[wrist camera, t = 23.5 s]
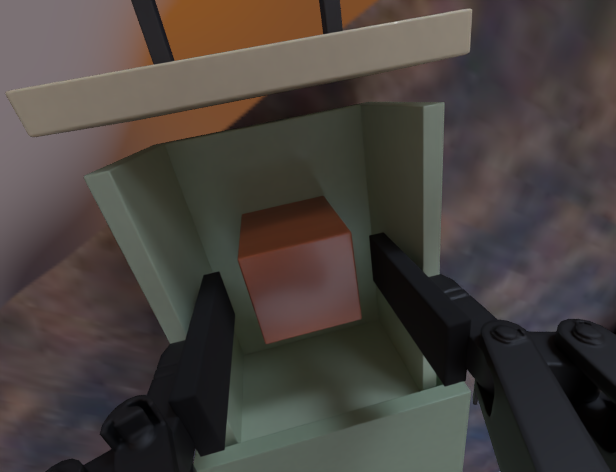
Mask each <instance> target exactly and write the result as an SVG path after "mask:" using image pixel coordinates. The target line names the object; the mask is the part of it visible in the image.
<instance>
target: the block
mask: <svg viewBox="0 0 616 472" xmlns="http://www.w3.org/2000/svg"><path fill="white" fill-rule="evenodd" d="M237 260H238V263H239V266H240V269H241V272H242V275H243V278H244V281H245V284H246V287H247V290H248V293H249V297H250V300H251V303H252V306H253V309H254V312H255V315H256V318H257V321H258V324H259V327H260V330H261V333H262V336H263V339H264V342H265V344H270V343H274V342H278V341H281V340H285V339H289V338H293V337H296V336H300V335H304V334H308V333H312V332H315V331H319V330H323V329H327V328H330V327H334V326H338V325H342V324H345V323H349V322H353V321H357V320H361V319H362V313H361V305H360V297H359V289H358V281H357V273H356V265H355V257H354V249H353V241H352V233H351V231H350V230H349V229H348V227H347V226H346V225H345V223H344V222H343V221H342V219H341V218H340V217H339V215H338V214H337V213H336V211H335V210H334V209H333V207H332V206H331V205H330V203H329V202H328V201H327V199H326V198H325V197H324V196H319V197H315V198H311V199H306V200H302V201H298V202H293V203H289V204H284V205H280V206H276V207H271V208H267V209H263V210H258V211H254V212H250V213H245V214H242V217H241V227H240V238H239V248H238V259H237Z"/></svg>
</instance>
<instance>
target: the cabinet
mask: <svg viewBox="0 0 616 472" xmlns="http://www.w3.org/2000/svg"><path fill="white" fill-rule="evenodd" d="M470 397H471V391H470V390H469V388H468V387H467V386H466V384H465V383H464V382H460V383H456V384H453V385H449V386H446V387H445V386H444V385H443V383H442V382H441V380H440V379H439V378H438V376H437V375H436V387H433V388H430V389H426V390H423V391H419V392H416V393H412V394H409V395H405V396H402V397H398V398H395V399H391V400H388V401H384V402H381V403H377V404H374V405H370V406H367V407H363V408H360V409H357V410H353V411H350V412H346V413H343V414H339V415H336V416H332V417H329V418H325V419H322V420H318V421H315V422H311V423H308V424H304V425H301V426H297V427H294V428H290V429H287V430H283V431H280V432H276V433H273V434H269V435H266V436H262V437H259V438H255V439H252V440H248V441H245V442H241V443H238V444H234V445H231V446H227V447H225V450H223V451H220V452H216V453H213V454H209V455H206V456H202V457H200V455H199V453H198V452H197V450H196V453H195V458H194V466H195V468H196V470H197V472H462V469H463V460H464V451H465V442H466V433H467V424H468V415H469V406H470Z"/></svg>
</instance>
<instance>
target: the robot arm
mask: <svg viewBox="0 0 616 472" xmlns="http://www.w3.org/2000/svg"><path fill="white" fill-rule="evenodd" d="M369 241H370V252H371V263H372V275H373V281H374V283H375V284H376V286H377V287H378V289H379V290H380V291H381V293H382V294H383V296H384V297H385V299H386V300H387V302H388V303H389V305H390V306H391V308H392V309H393V311H394V312H395V314H396V315H397V317H398V318H399V320H400V321H401V323H402V324H403V326H404V327H405V329H406V330H407V332H408V333H409V334H410V336H411V337H412V339H413V340H414V342H415V343H416V345H417V346H418V348H419V349H420V351H421V352H422V354H423V355H424V357H425V358H426V360H427V361H428V363H429V364H430V366H431V367H432V369H433V370H434V372H435V373H436V375H437V376H438V378H439V379H440V380H441V382H442V383H443V385H444V386H445V387H446V386H449V385H453V384H456V383H460V382H463V381H466V372H467V370H468V371H469V372H470V373H471V375H472V376H473V377H474V378H475V384H474V393H473V404H475V405H477V401H479V404H480V407H481V410H482V413H483V417H484V420H485V423H486V426H487V429H488V433H489V436H490V439H491V442H492V446H493V449H494V452H495V455H496V458H497V462H498V465H499V468H500V471H501V472H616V335H615V334H613V333H612V332H611V331H609V330H608V329H606V328H604V327H603V326H601V325H598V324H596V323H593V322H590V321H586V320H581V319H567V320H564V321H561V323H560V324H559V325H558V327H557V331H556V332H529V331H526V330H525V329H524V328H522V327H521V326H519V325H517V324H515V323H512V322H509V321H505V320H497V319H496V318H495V317H494V316H493V315H492V314H491V313H490V312H488V311H487V310H486V309H485V308H484V307H483V306H482V305H481V304H479V303H478V302H477V301H476V300H475V299H474V298H473V297H472V296H469V294H468V293H467V292H466V291H465V290H464V289H462V288H461V287H460V286H459V285H458V284H457V283H456V282H455V281H454V280H452V279H450V278H448V277H446V276H444V275H441V274H439V275H435V276H431V277H428V276H427V275H426V274H425V273H424V272H423V271H422V270H421V269H420V268H419V267H418V266H417V265H416V264H415V263H414V262H413V261H412V260H411V259H410V258H409V257H408V256H407V255H406V254H405V253H404V252H403V251H402V250H401V249H400V248H399V247H398V246H397V245H396V244H395V243H394V242H393V241H392V240H391V239H390V238H389V237H388V236H387V235H386V234H385V233H384V232H382V233H378V234H374V235H369ZM234 326H235V313H234V310H233V307H232V304H231V302H230V299H229V296H228V293H227V291H226V288H225V285H224V283H223V280H222V277H221V274H220V272H219V271H218V272H214V273H210V274H206V275H203V279H202V282H201V286H200V289H199V293H198V296H197V300H196V303H195V307H194V311H193V314H192V318H191V321H190V325H189V328H188V332H187V335H186V339H185V340H183V341H179V342H175V343H171V344H170V345H169V346H168V347H167V349H166V350H165V351H164V352H163V354H162V355H161V357H160V360H159V363H158V366H157V370H156V371H155V374H154V377H153V378H154V380H152V383H151V385H150V388H149V391H148V394H147V395H139V396H135V397H132V398H130V399H128V400H126V401H124V402H123V403H122V404H120V405H119V406H117V407H116V408H115V409H114V410H113V411H112V412H111V413H110V414H109V415H108V417H107V418H106V420H105V422H104V423H103V425H102V428H101V432H100V435H101V436H102V438H103V439H104V440H105V441H106V442H107V444H108V445H109V446H110V447H111V450H109V451H108V452H106V453H104V454H103V455H101V456H99V457H97V458H96V459H94V460H92V461H90V462H88V463H87V464H85V465H83V464H82V463H81V462H80V461H79V460H75V459H68V460H64V461H61V462H59V463H58V464H56V465H54V466H52V467H51V468H49V469H48V470H47V471H46V472H197V470H196V468H195V466H194V465H193V463H192V462H193V456H194V450H195V448H196V450H197V452H198V453H199V455H200V457H202V456H206V455H209V454H213V453H216V452H220V451H223V450H225V439H226V427H227V414H228V401H229V389H230V376H231V363H232V351H233V338H234Z"/></svg>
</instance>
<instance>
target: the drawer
mask: <svg viewBox="0 0 616 472" xmlns="http://www.w3.org/2000/svg"><path fill="white" fill-rule="evenodd" d="M131 1H132V4H133V7H134V10H135V13H136V15H137V18H138V21H139V24H140V27H141V29H142V33H143V35H144V38H145V41H146V44H147V46H148V49H149V52H150V55H151V58H152V61H153V64H154V65H150V66H144V67H139V68H133V69H127V70H122V71H116V72H110V73H105V74H99V75H94V76H88V77H83V78H77V79H71V80H66V81H60V82H54V83H49V84H44V85H38V86H32V87H27V88H21V89H15V90H9V91H7V92H6V96H7V98H8V99H9V101H10V103H11V105H12V107H13V108H14V110H15V112H16V114H17V115H18V117H19V119H20V121H21V122H22V124H23V126H24V128H25V129H26V131H27V133H28V135H29V136H31V137H39V136H45V135H51V134H57V133H63V132H69V131H75V130H81V129H87V128H93V127H100V126H106V125H112V124H117V123H123V122H130V121H135V120H141V119H146V118H151V117H156V116H161V115H167V114H172V113H177V112H182V111H187V110H192V109H197V108H203V107H208V106H213V105H218V104H224V103H229V102H234V101H239V100H244V99H250V98H255V97H260V96H265V95H271V94H276V93H281V92H286V91H291V90H296V89H302V88H307V87H312V86H317V85H322V84H328V83H333V82H338V81H343V80H348V79H354V78H359V77H364V76H369V75H374V74H379V73H384V72H388V71H393V70H397V69H402V68H406V67H411V66H416V65H420V64H425V63H429V62H434V61H438V60H443V59H447V58H452V57H457V56H461V55H466V54H468V53H469V51H470V38H471V21H472V9H463V10H458V11H452V12H446V13H441V14H435V15H430V16H424V17H418V18H413V19H407V20H402V21H396V22H390V23H385V24H379V25H374V26H368V27H362V28H357V29H351V30H346V31H343V28H342V20H341V10H340V9H341V8H340V0H319V3H320V11H321V19H322V27H323V35H318V36H312V37H306V38H301V39H295V40H290V41H284V42H279V43H273V44H267V45H262V46H256V47H250V48H245V49H239V50H234V51H228V52H223V53H218V54H211V55H206V56H200V57H195V58H189V59H183V60H178V61H174V58H173V55H172V52H171V49H170V45H169V42H168V39H167V36H166V33H165V30H164V27H163V24H162V21H161V18H160V14H159V11H158V8H157V5H156V2H155V0H131ZM443 134H444V102H366V103H361V104H356V105H351V106H346V107H341V108H336V109H331V110H326V111H321V112H316V113H311V114H306V115H301V116H296V117H291V118H286V119H281V120H276V121H271V122H266V123H261V124H256V125H251V126H246V127H241V128H236V129H231V130H226V131H221V132H216V133H211V134H206V135H201V136H196V137H191V138H186V139H181V140H176V141H171V142H166V143H161V144H156V145H153V146H150V147H149V148H146V149H144V150H141V151H139V152H137V153H135V154H132V155H130V156H128V157H125V158H123V159H121V160H119V161H117V162H114V163H112V164H110V165H107V166H105V167H103V168H101V169H99V170H96V171H94V172H92V173H90V174H87V175H85V176H84V179H85V181H86V183H87V185H88V187H89V189H90V191H91V193H92V195H93V197H94V199H95V200H96V203H97V204H98V206H99V208H100V210H101V212H102V214H103V216H104V218H105V220H106V222H107V224H108V226H109V227H110V229H111V231H112V233H113V235H114V237H115V239H116V241H117V243H118V245H119V247H120V249H121V250H122V252H123V254H124V256H125V258H126V260H127V262H128V264H129V266H130V268H131V270H132V272H133V274H134V275H135V277H136V279H137V281H138V283H139V285H140V287H141V289H142V291H143V293H144V295H145V297H146V298H147V300H148V302H149V304H150V306H151V308H152V310H153V312H154V314H155V316H156V318H157V320H158V322H159V323H160V325H161V327H162V329H163V331H164V333H165V335H166V337H167V339H168V341H169V343H170V344H171V343H175V342H179V341H183V340H185V339H186V335H187V332H188V328H189V325H190V321H191V318H192V314H193V311H194V307H195V303H196V300H197V296H198V293H199V289H200V286H201V282H202V279H203V275H206V274H210V273H214V272H218V271H219V272H220V274H221V277H222V280H223V283H224V285H225V288H226V291H227V293H228V296H229V299H230V302H231V304H232V307H233V310H234V313H235V326H234V338H233V351H232V363H231V376H230V389H229V401H228V414H227V427H226V439H225V447H227V446H231V445H234V444H238V443H241V442H245V441H248V440H252V439H255V438H259V437H262V436H266V435H269V434H273V433H276V432H280V431H283V430H287V429H290V428H294V427H297V426H301V425H304V424H308V423H311V422H315V421H318V420H322V419H325V418H329V417H332V416H336V415H339V414H343V413H346V412H350V411H353V410H357V409H360V408H363V407H367V406H370V405H374V404H377V403H381V402H384V401H388V400H391V399H395V398H398V397H402V396H405V395H409V394H412V393H416V392H419V391H423V390H426V389H430V388H433V387H436V373H435V372H434V370H433V369H432V367H431V366H430V364H429V363H428V361H427V360H426V358H425V357H424V355H423V354H422V352H421V351H420V349H419V348H418V346H417V345H416V343H415V342H414V340H413V339H412V337H411V336H410V334H409V333H408V332H407V330H406V329H405V327H404V326H403V324H402V323H401V321H400V320H399V318H398V317H397V315H396V314H395V312H394V311H393V309H392V308H391V306H390V305H389V303H388V302H387V300H386V299H385V297H384V296H383V294H382V293H381V291H380V290H379V289H378V287H377V286H376V284H375V283H374V281H373V275H372V263H371V252H370V241H369V235H374V234H378V233H382V232H384V233H385V234H386V235H387V236H388V237H389V238H390V239H391V240H392V241H393V242H394V243H395V244H396V245H397V246H398V247H399V248H400V249H401V250H402V251H403V252H404V253H405V254H406V255H407V256H408V257H409V258H410V259H411V260H412V261H413V262H414V263H415V264H416V265H417V266H418V267H419V268H420V269H421V270H422V271H423V272H424V273H425V274H426V275H427V276H428V277H431V276H435V275H439V267H440V234H441V201H442V167H443ZM319 196H324V197H325V198H326V199H327V201H328V202H329V203H330V205H331V206H332V207H333V209H334V210H335V211H336V213H337V214H338V215H339V217H340V218H341V219H342V221H343V222H344V223H345V225H346V226H347V227H348V229H349V230H350V231H351V233H352V241H353V249H354V257H355V265H356V273H357V281H358V289H359V297H360V305H361V313H362V319H361V320H357V321H353V322H349V323H345V324H342V325H338V326H334V327H330V328H327V329H323V330H319V331H315V332H312V333H308V334H304V335H300V336H296V337H293V338H289V339H285V340H281V341H278V342H274V343H270V344H265V342H264V339H263V336H262V333H261V330H260V327H259V324H258V321H257V318H256V315H255V312H254V309H253V306H252V303H251V300H250V297H249V293H248V290H247V287H246V284H245V281H244V278H243V275H242V272H241V269H240V266H239V263H238V260H237V259H238V248H239V238H240V227H241V217H242V214H245V213H250V212H254V211H258V210H263V209H267V208H271V207H276V206H280V205H284V204H289V203H293V202H298V201H302V200H306V199H311V198H315V197H319Z"/></svg>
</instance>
